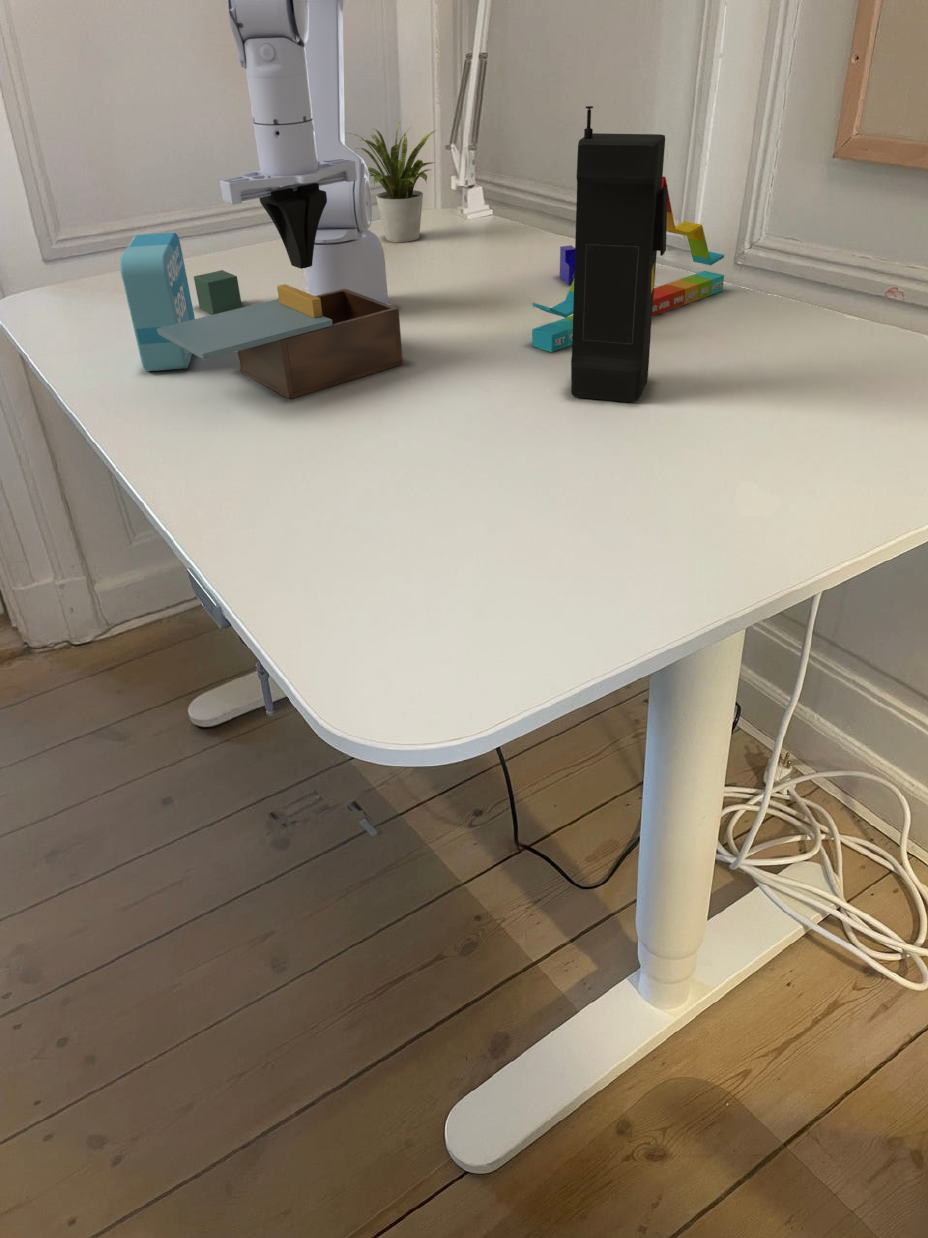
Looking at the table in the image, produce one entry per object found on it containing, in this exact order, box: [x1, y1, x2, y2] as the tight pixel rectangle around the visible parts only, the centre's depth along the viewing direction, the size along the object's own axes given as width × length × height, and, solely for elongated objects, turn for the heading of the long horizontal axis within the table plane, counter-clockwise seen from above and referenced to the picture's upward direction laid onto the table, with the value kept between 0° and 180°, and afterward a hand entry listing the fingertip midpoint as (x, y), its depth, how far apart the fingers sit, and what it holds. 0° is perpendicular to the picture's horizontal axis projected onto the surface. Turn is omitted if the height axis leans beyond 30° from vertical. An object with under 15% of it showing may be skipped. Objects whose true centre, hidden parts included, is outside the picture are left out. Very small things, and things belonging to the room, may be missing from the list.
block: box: [193, 269, 243, 315], centre depth 121 cm, size 4×4×4 cm
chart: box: [531, 176, 725, 353], centre depth 109 cm, size 30×3×15 cm, turn 131°
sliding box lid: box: [157, 283, 333, 361], centre depth 95 cm, size 14×10×2 cm
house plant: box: [348, 119, 437, 243], centre depth 144 cm, size 14×14×16 cm
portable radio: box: [570, 105, 668, 403], centre depth 88 cm, size 8×6×25 cm
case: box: [236, 289, 404, 400], centre depth 101 cm, size 14×10×6 cm
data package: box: [119, 232, 196, 372], centre depth 105 cm, size 12×4×12 cm, turn 7°
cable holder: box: [559, 244, 575, 286], centre depth 126 cm, size 8×4×4 cm, turn 105°
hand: (301, 265), depth 100 cm, fingers closed
